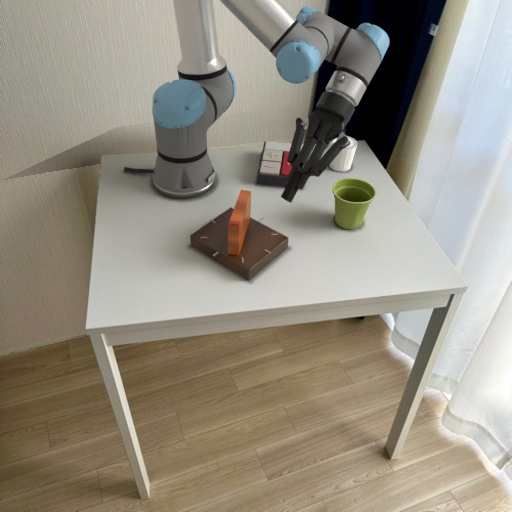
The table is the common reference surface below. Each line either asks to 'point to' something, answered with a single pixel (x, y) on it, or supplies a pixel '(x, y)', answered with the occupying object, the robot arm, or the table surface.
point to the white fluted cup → (344, 156)
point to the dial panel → (253, 248)
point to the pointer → (239, 222)
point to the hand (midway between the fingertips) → (285, 199)
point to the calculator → (274, 164)
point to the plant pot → (352, 201)
